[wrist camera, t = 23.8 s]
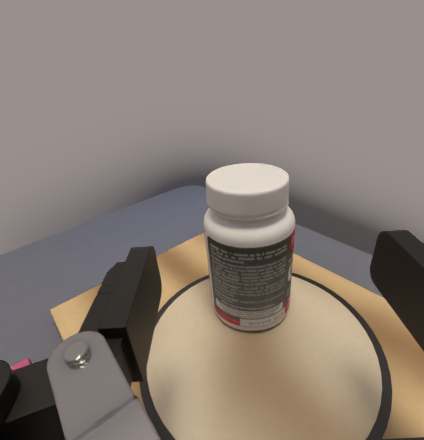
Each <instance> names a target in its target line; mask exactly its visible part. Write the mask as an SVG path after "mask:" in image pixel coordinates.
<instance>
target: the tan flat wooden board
mask: <svg viewBox="0 0 424 440" xmlns="http://www.w3.org/2000/svg"><path fill="white" fill-rule="evenodd" d="M156 258H157V262H158V267H159V272H160V276H161V283H162V293H161V299H160V304H159V309H158V314H157V319H156V324H155V328H154V333H153V338H152V343H151V348H150V353H149V358H148V363H147V367H146V372H145V377H144V382H132V384H131V389H132V391H133V393H134V395H135V396H137V397H138V398H139V400H140V402H141V403H142V405H143V407H144V409H145V411H146V412H147V414H148V416H149V418H150V420H151V422H152V424H153V426H154V427H155V429H156V431H157V433H158V435H159V437H160V439H161V440H377V439H393V438H416V437H424V351H423V350H422V349H421V347H420V346H419V345H418V343H417V342H416V340H415V339H414V338H413V336H412V335H411V334H410V332H409V331H408V330H407V328H406V327H405V325H404V324H403V323H402V321H401V320H400V319H399V317H398V316H397V314H396V313H395V312H394V310H393V309H392V308H391V306H390V305H389V304H388V302H387V301H386V299H385V298H383V297H381V296H379V295H377V294H375V293H373V292H371V291H369V290H367V289H365V288H363V287H361V286H359V285H357V284H355V283H353V282H351V281H349V280H347V279H345V278H343V277H340V276H338V275H336V274H334V273H332V272H330V271H328V270H326V269H324V268H322V267H320V266H318V265H316V264H314V263H312V262H310V261H308V260H306V259H304V258H302V257H300V256H298V255H296V254H294V253H293V263H292V276H291V290H290V304H289V309H288V312H287V314H286V316H285V317H284V318H283V320H282V321H281V322H279V323H278V324H277V325H275V326H273V327H271V328H268V329H265V330H260V331H244V330H239V329H236V328H233V327H231V326H229V325H227V324H226V323H224V322H223V321H222V320H221V319H220V318H219V317H218V316H217V314H216V312H215V310H214V308H213V304H212V297H211V286H210V277H209V268H208V259H207V251H206V242H205V234H204V233H202V234H200V235H198V236H196V237H194V238H192V239H190V240H188V241H186V242H184V243H182V244H180V245H178V246H176V247H174V248H172V249H170V250H168V251H166V252H164V253H162V254H160V255H158V256H156ZM100 286H102V284H100V285H98V286H96V287H94V288H92V289H90V290H88V291H86V292H84V293H82V294H80V295H78V296H76V297H74V298H72V299H71V300H69V301H67V302H65V303H63V304H61V305H59V306H57V307H55V308H53V309H51V310H50V312H51V315H52V317H53V319H54V321H55V324H56V326H57V328H58V330H59V333H60V335H61V337H62V339H63V341H64V340H65V339H67V338H69V337H70V336H72V335H74V334H77V333H78V332H79V330H80V328H81V326H82V324H83V321H84V319H85V317H86V315H87V313H88V311H89V309H90V307H91V305H92V303H93V301H94V299H95V297H96V295H97V292H98V290H99V288H100Z"/></svg>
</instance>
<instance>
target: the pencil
mask: <svg viewBox="0 0 424 440" xmlns="http://www.w3.org/2000/svg"><path fill="white" fill-rule="evenodd" d="M30 364H32V362H31V360H30V359H25V360H23V361H21V362H19V363H18V364H16V365H14V366H11V368H12V370H15V369H18V368H21V367H24V366H27V365H30Z"/></svg>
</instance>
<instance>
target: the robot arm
mask: <svg viewBox="0 0 424 440" xmlns="http://www.w3.org/2000/svg"><path fill="white" fill-rule="evenodd" d="M370 274H371V278H372V281H373V283H374V284H375V286H376V287H377V288H378V290H379V291H380V293H381V294H382V295H383V297H384V298H385V299H386V301H387V302H388V304H389V305H390V306H391V308H392V309H393V310H394V312H395V313H396V314H397V316H398V317H399V319H400V320H401V321H402V323H403V324H404V325H405V327H406V328H407V330H408V331H409V332H410V334H411V335H412V336H413V338H414V339H415V340H416V342H417V343H418V345H419V346H420V347H421V349H422V350H423V351H424V243H422V242H421V241H419V240H418V239H417V238H416V237H415V236H414V235H412V234H411V233H410V232H409V231H407V230H396V231H382V232H381V233H380V234H379V235H378V238H377V242H376V246H375V250H374V254H373V258H372V262H371V266H370ZM161 293H162V283H161V276H160V272H159V267H158V262H157V258H156V253H155V249H154V247H153V246H149V247H134V248H131V250H130V252H129V254H128V257H127V259H126V261H125V262H118V263H116V264H115V265H114V266H113V267H112V268H111V269H110V270H109V271H108V272H107V274H106V276H105V278H104V280H103V282H102V286H100V288H99V290H98V292H97V295H96V297H95V299H94V301H93V303H92V305H91V307H90V309H89V311H88V313H87V315H86V317H85V319H84V321H83V324H82V326H81V328H80V330H79V332H78V333H77V334H74V335H72V336H70V337H69V338H67V339H65V340H64V341H63V342H61V343H60V344H59V345H58V346H57V347H56V348H55V349H54V351H53V352H52V354H51V355H50V357H49V358H48V359H45V360H42V361H39V362H36V363H33V364H30V365H27V366H24V367H21V368H18V369H15V370H12V368H11V367H10V365H9V364H8V363H7V362H6V361H3V360H0V440H161V439H160V437H159V435H158V433H157V431H156V429H155V427H154V426H153V424H152V422H151V420H150V418H149V416H148V414H147V412H146V411H145V409H144V407H143V405H142V403H141V402H140V400H139V398H138V397H137V396H135V395H134V393H133V391H132V389H131V384H132V382H144V377H145V372H146V367H147V363H148V358H149V353H150V348H151V343H152V338H153V333H154V328H155V324H156V319H157V314H158V309H159V304H160V299H161ZM377 440H424V437H416V438H393V439H377Z"/></svg>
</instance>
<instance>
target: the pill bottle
mask: <svg viewBox="0 0 424 440" xmlns="http://www.w3.org/2000/svg"><path fill="white" fill-rule="evenodd" d="M206 195H207V196H206V200H207V203H208V206H209V209H208V210H207V212H206V214H205V217H204V234H205V242H206V251H207V259H208V268H209V277H210V286H211V297H212V304H213V308H214V310H215V312H216V314H217V316H218V317H219V318H220V319H221V320H222V321H223V322H224V323H226V324H227V325H229V326H231V327H233V328H236V329H239V330H244V331H260V330H265V329H268V328H271V327H273V326H275V325H277V324H278V323H279V322H281V321H282V320H283V318H284V317H285V316H286V314H287V312H288V309H289V304H290V290H291V276H292V263H293V248H294V236H295V217H294V214H293V212H292V210H291V209H290V208H289V207H288V203H289V200H288V199H289V176H288V174H287V173H286V172H285V171H284V170H282V169H280V168H278V167H275V166H272V165H267V164H257V163H244V164H235V165H229V166H225V167H222V168H219V169H216V170H214V171H213V172H211V173H210V174H209V175H208V176H207V178H206Z"/></svg>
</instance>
